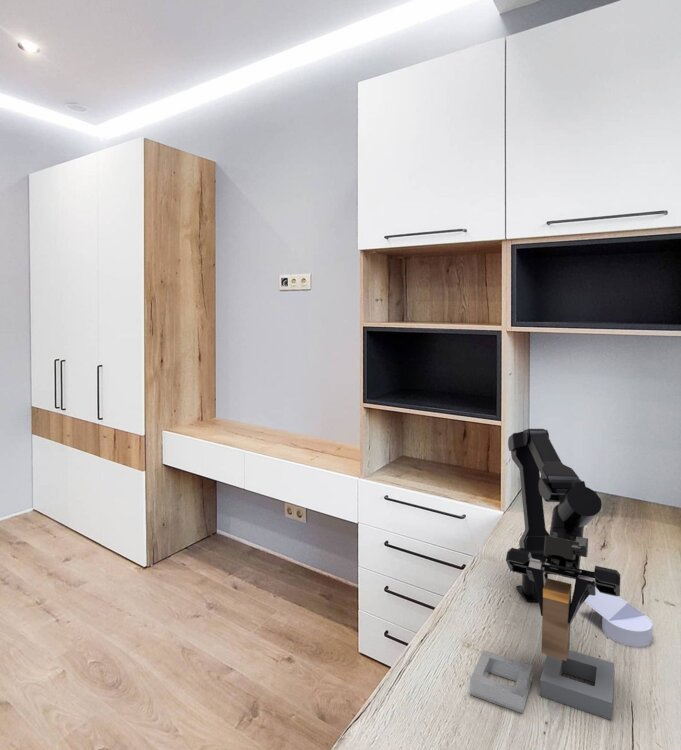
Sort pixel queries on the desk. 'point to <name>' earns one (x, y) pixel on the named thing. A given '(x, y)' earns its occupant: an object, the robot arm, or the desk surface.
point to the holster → (499, 691)
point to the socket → (579, 683)
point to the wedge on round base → (622, 620)
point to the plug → (556, 619)
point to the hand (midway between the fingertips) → (555, 619)
